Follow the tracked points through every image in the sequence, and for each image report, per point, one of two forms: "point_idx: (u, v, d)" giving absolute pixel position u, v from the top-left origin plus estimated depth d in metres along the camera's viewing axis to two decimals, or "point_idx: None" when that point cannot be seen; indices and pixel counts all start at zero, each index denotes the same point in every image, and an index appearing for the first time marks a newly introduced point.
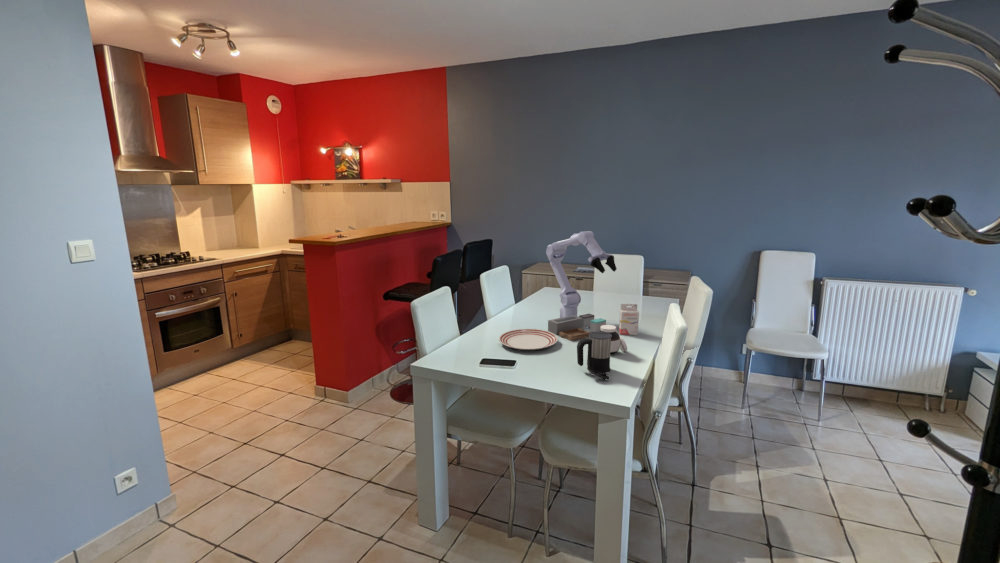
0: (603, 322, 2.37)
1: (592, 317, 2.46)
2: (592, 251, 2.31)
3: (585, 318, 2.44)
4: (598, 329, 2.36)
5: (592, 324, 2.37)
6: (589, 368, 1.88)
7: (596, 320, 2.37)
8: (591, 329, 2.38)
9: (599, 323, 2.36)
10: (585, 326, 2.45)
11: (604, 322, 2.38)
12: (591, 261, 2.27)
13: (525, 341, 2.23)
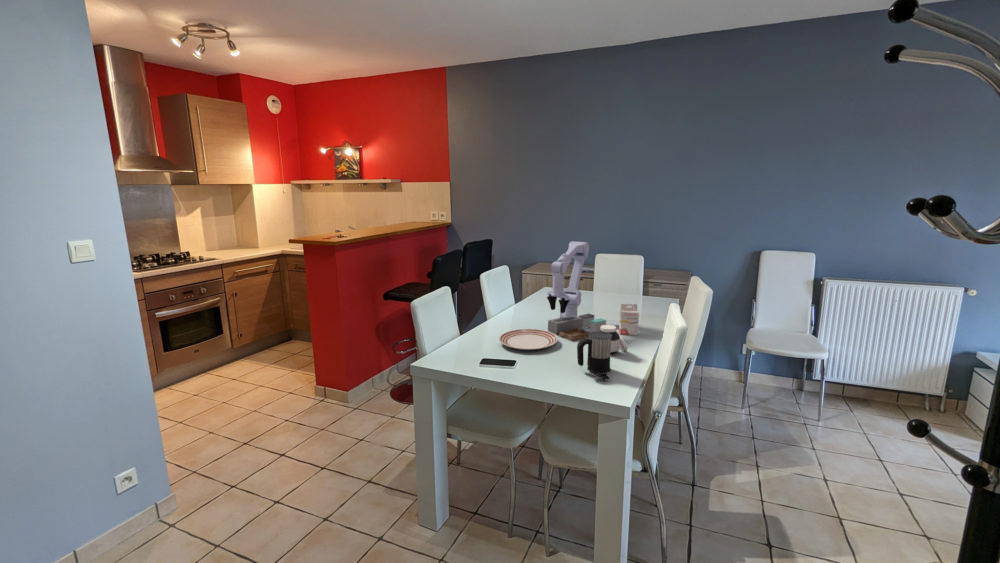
0: (603, 322, 2.37)
1: (592, 317, 2.46)
2: None
3: (585, 318, 2.44)
4: (598, 329, 2.36)
5: (592, 324, 2.37)
6: (589, 368, 1.88)
7: (596, 320, 2.37)
8: (591, 329, 2.38)
9: (599, 323, 2.36)
10: (585, 326, 2.45)
11: (604, 322, 2.38)
12: (550, 294, 2.46)
13: (525, 341, 2.23)
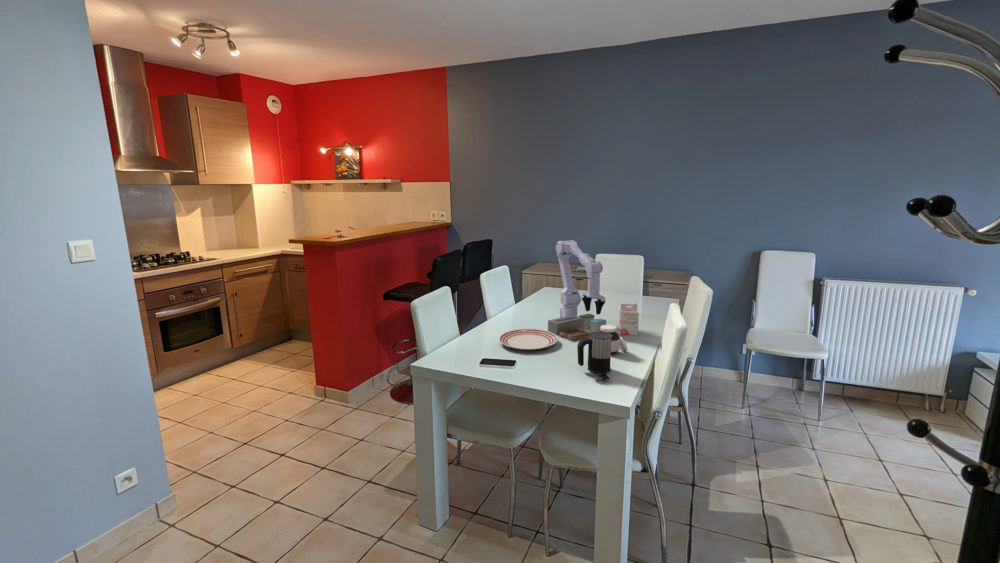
0: (603, 322, 2.37)
1: (592, 317, 2.46)
2: None
3: (585, 318, 2.44)
4: (598, 329, 2.36)
5: (592, 324, 2.37)
6: (589, 368, 1.88)
7: (596, 320, 2.37)
8: (591, 329, 2.38)
9: (599, 323, 2.36)
10: (585, 326, 2.45)
11: (604, 322, 2.38)
12: None
13: (525, 341, 2.23)
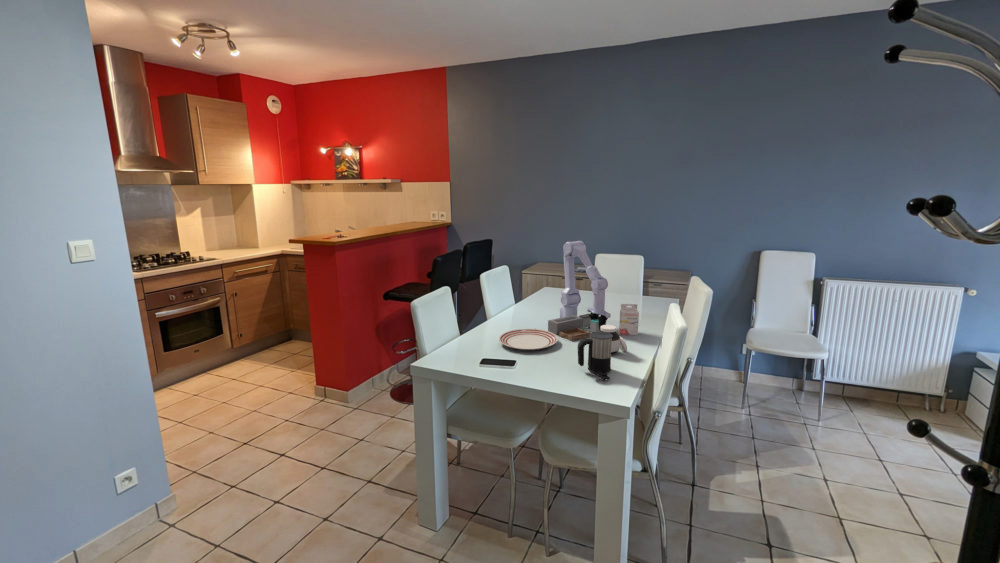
0: None
1: None
2: None
3: (585, 318, 2.44)
4: (598, 329, 2.36)
5: (592, 324, 2.37)
6: (590, 368, 1.88)
7: (596, 320, 2.37)
8: (591, 329, 2.38)
9: None
10: (585, 326, 2.45)
11: None
12: (590, 311, 2.43)
13: (525, 341, 2.23)
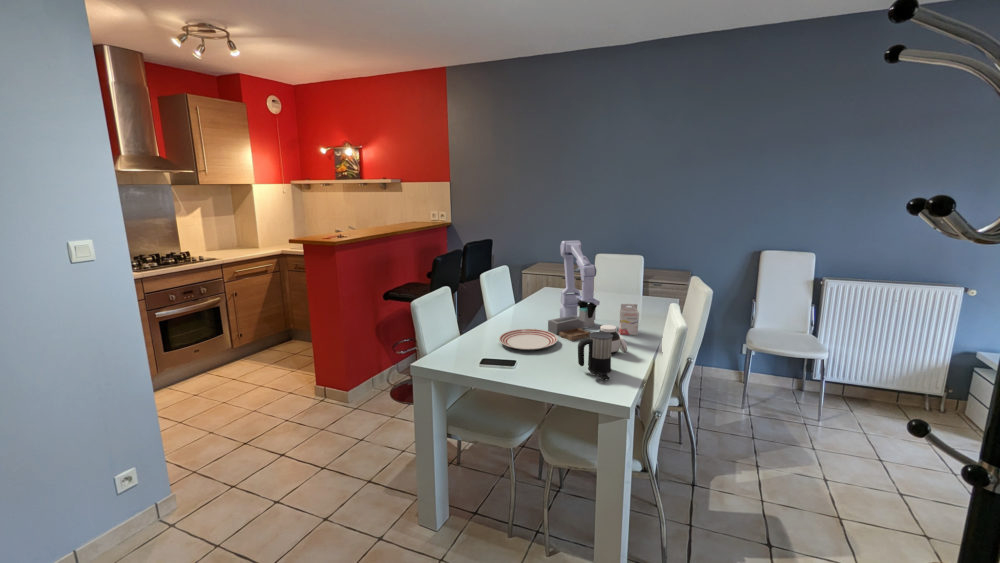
0: None
1: None
2: None
3: None
4: (587, 317, 2.31)
5: (581, 312, 2.31)
6: (590, 368, 1.88)
7: (585, 308, 2.32)
8: (580, 317, 2.33)
9: None
10: (585, 326, 2.45)
11: None
12: (579, 299, 2.37)
13: (525, 341, 2.23)
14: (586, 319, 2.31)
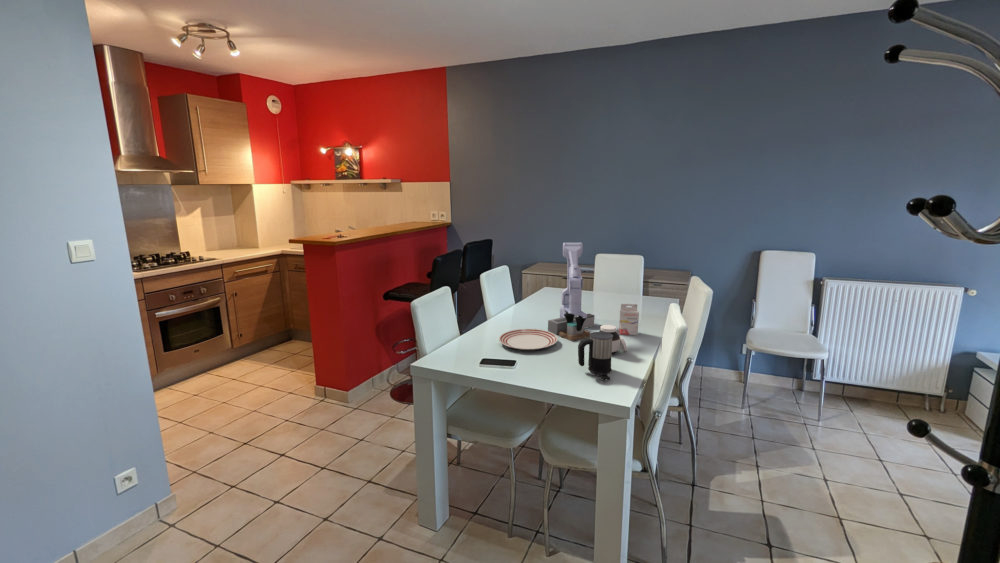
0: None
1: (592, 317, 2.46)
2: None
3: None
4: (575, 332, 2.29)
5: (569, 327, 2.29)
6: (590, 368, 1.88)
7: (573, 323, 2.30)
8: (568, 332, 2.30)
9: (576, 326, 2.28)
10: (585, 326, 2.45)
11: None
12: (567, 311, 2.35)
13: (525, 341, 2.23)
14: (574, 334, 2.28)
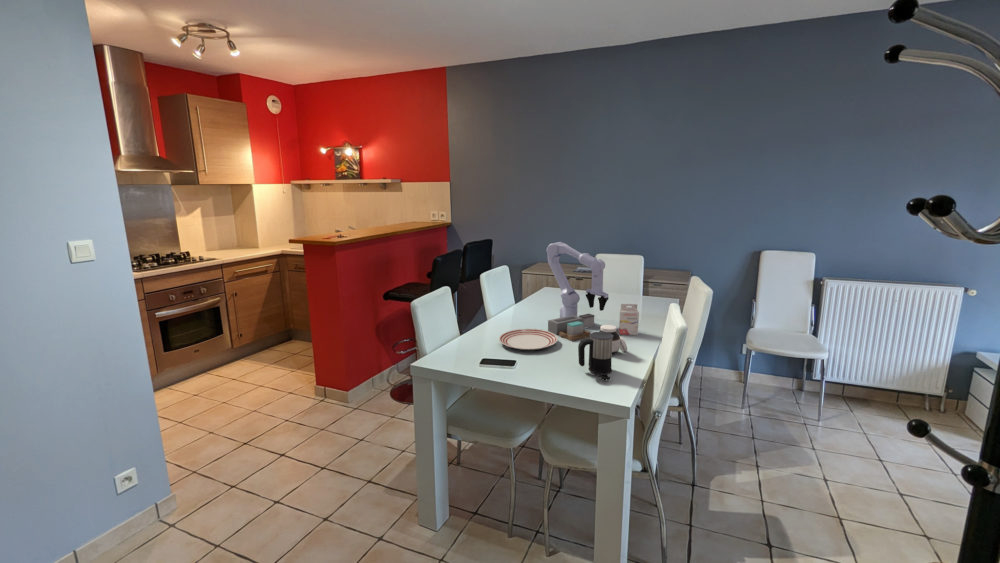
0: (580, 325, 2.30)
1: (592, 317, 2.46)
2: None
3: (585, 318, 2.44)
4: (575, 332, 2.29)
5: (569, 327, 2.29)
6: (590, 368, 1.88)
7: (573, 323, 2.30)
8: (568, 332, 2.30)
9: (576, 326, 2.28)
10: (585, 326, 2.45)
11: (581, 325, 2.30)
12: None
13: (525, 341, 2.23)
14: (574, 334, 2.28)
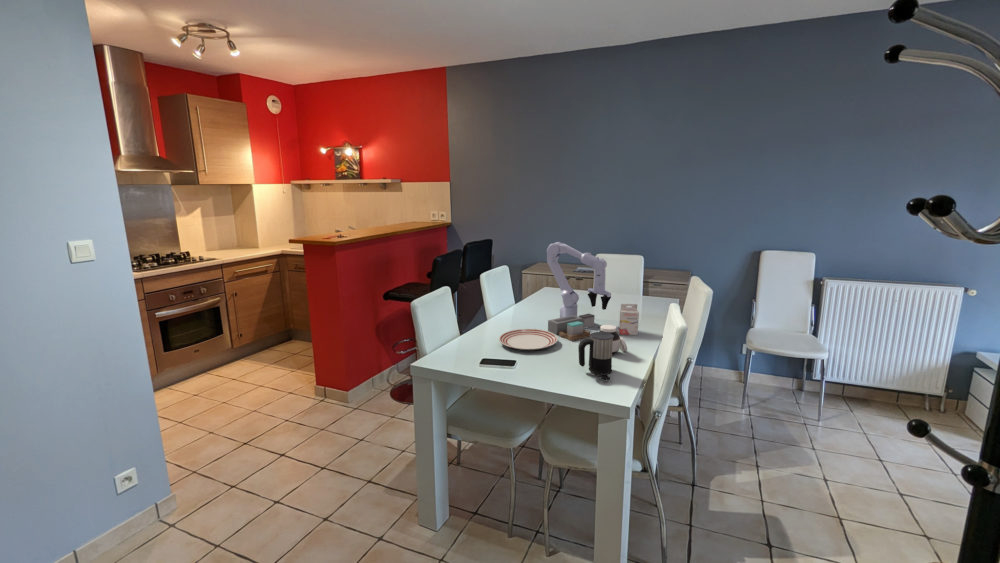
0: (580, 325, 2.30)
1: (592, 317, 2.46)
2: None
3: (585, 318, 2.44)
4: (575, 332, 2.29)
5: (569, 327, 2.29)
6: (591, 369, 1.87)
7: (573, 323, 2.30)
8: (568, 332, 2.30)
9: (576, 326, 2.28)
10: (585, 326, 2.45)
11: (581, 325, 2.30)
12: None
13: (525, 341, 2.23)
14: (574, 334, 2.28)
